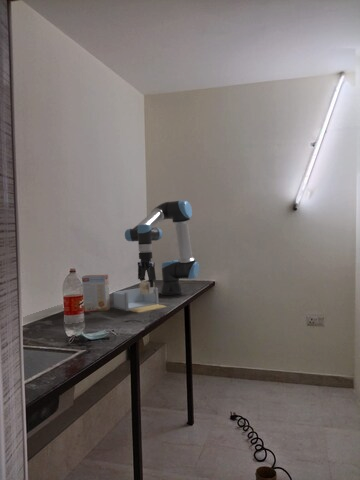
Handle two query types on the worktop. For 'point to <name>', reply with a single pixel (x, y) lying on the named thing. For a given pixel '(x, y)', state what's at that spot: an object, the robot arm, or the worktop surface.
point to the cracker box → (96, 293)
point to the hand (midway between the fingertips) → (147, 292)
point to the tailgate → (147, 308)
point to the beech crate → (145, 288)
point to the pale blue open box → (134, 299)
